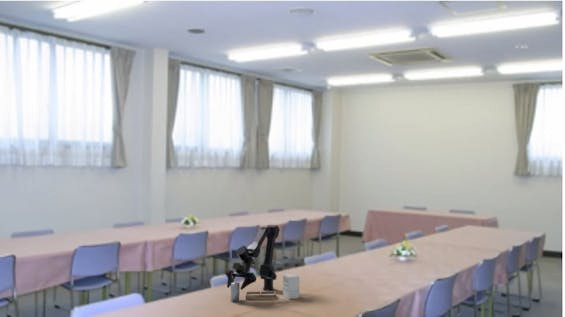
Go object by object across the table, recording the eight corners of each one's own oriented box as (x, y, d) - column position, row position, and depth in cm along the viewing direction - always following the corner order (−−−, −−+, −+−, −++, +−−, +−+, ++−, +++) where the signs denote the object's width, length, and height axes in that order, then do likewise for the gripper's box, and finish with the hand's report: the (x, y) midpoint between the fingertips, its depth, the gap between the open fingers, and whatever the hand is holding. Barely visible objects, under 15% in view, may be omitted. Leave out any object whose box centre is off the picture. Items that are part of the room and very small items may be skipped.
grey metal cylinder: (230, 300, 288) (231, 282, 289) (239, 300, 289) (239, 282, 289) (230, 302, 284) (230, 283, 284) (239, 302, 284) (239, 283, 284)
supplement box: (293, 295, 300) (293, 273, 301) (299, 298, 294) (299, 275, 294) (282, 296, 297) (282, 274, 298) (288, 299, 290) (288, 277, 291)
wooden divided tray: (245, 296, 298) (245, 291, 298) (275, 295, 299) (275, 291, 299) (245, 299, 289) (245, 295, 289) (276, 299, 290) (276, 294, 290)
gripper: (226, 255, 295) (214, 278, 286) (253, 258, 286) (242, 281, 276) (234, 267, 302) (223, 289, 292) (261, 270, 293) (250, 293, 283)
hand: (234, 288), depth 286 cm, fingers open, 9 cm apart
